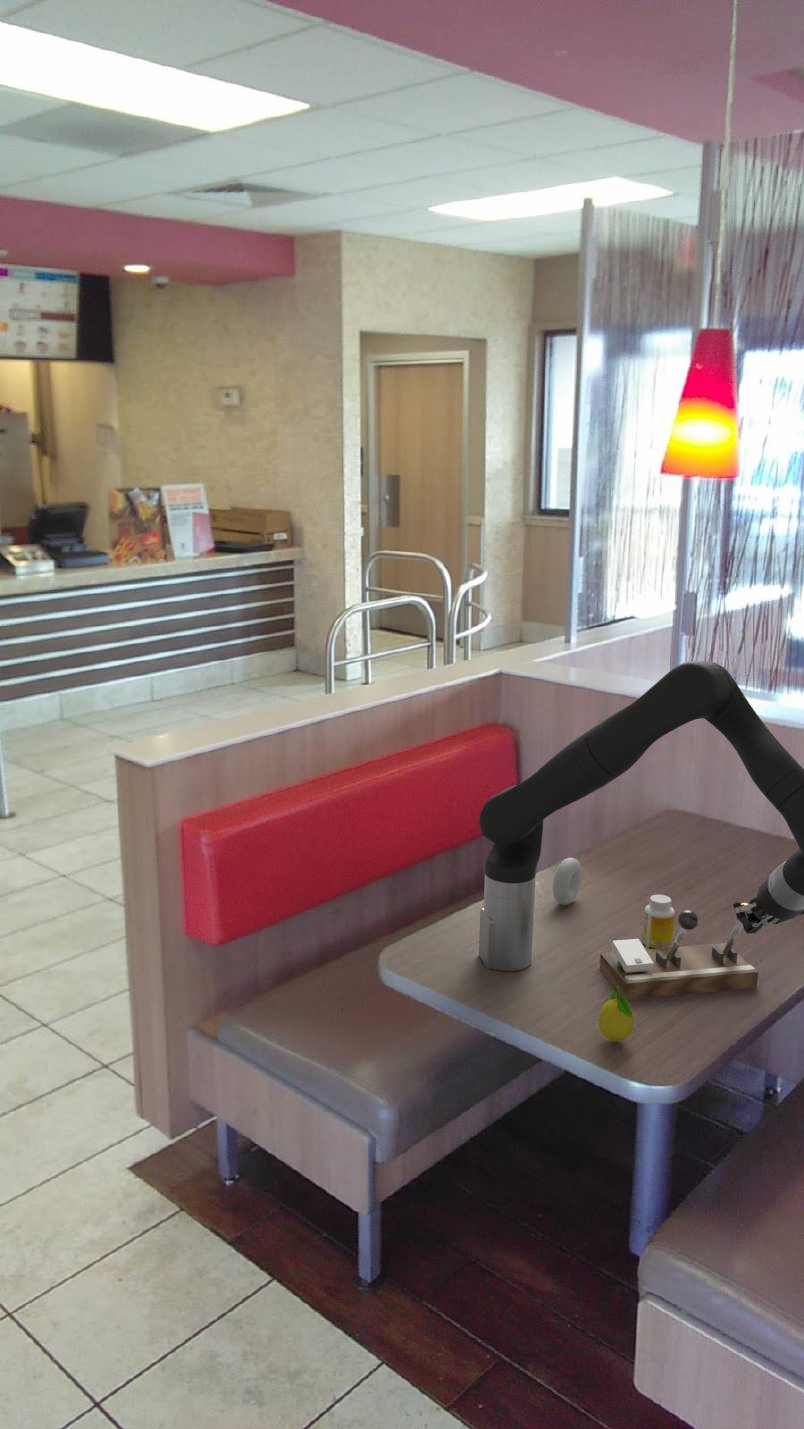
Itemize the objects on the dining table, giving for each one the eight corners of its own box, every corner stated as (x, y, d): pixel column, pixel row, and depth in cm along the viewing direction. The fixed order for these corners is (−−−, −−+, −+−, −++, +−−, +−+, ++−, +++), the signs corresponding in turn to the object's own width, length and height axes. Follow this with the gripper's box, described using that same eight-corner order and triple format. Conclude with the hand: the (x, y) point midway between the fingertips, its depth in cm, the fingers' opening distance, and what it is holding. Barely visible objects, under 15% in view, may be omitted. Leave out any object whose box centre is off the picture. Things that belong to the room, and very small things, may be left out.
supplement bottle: (678, 950, 214) (682, 901, 212) (655, 957, 212) (659, 906, 209) (658, 939, 219) (661, 890, 217) (636, 945, 216) (639, 896, 214)
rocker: (625, 972, 197) (627, 964, 197) (611, 947, 204) (612, 940, 203) (652, 970, 198) (653, 962, 198) (637, 945, 205) (638, 937, 204)
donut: (564, 913, 230) (566, 868, 228) (548, 909, 232) (551, 864, 229) (583, 897, 238) (585, 853, 236) (568, 893, 240) (570, 849, 238)
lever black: (663, 967, 200) (685, 922, 191) (657, 951, 203) (678, 906, 194) (681, 965, 201) (703, 921, 192) (674, 949, 203) (696, 905, 194)
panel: (625, 999, 196) (626, 974, 194) (599, 968, 207) (601, 944, 206) (756, 987, 201) (759, 963, 199) (724, 957, 212) (726, 934, 211)
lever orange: (720, 962, 203) (743, 914, 194) (713, 946, 205) (735, 899, 196) (737, 960, 203) (761, 913, 194) (730, 945, 206) (753, 898, 197)
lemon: (629, 1056, 178) (633, 998, 175) (593, 1048, 180) (596, 991, 177) (638, 1036, 184) (641, 980, 181) (602, 1029, 186) (605, 973, 183)
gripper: (821, 864, 184) (776, 905, 198) (746, 869, 182) (707, 910, 196) (836, 907, 180) (790, 946, 195) (760, 912, 178) (719, 951, 192)
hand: (748, 928), depth 195 cm, fingers closed
